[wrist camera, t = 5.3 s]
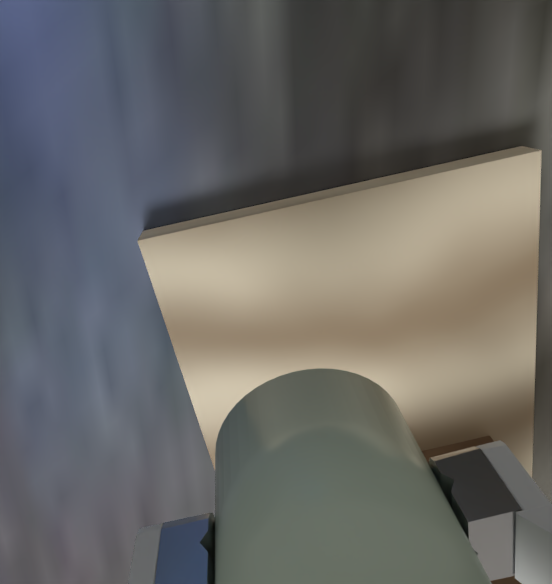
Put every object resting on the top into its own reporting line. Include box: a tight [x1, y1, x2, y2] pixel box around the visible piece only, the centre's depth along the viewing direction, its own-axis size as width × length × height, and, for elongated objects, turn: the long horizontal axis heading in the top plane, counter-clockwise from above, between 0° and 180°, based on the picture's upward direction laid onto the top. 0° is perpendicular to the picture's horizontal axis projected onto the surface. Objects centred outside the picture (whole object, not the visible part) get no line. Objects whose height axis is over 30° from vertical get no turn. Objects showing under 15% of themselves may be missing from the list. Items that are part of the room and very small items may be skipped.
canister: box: [215, 368, 492, 584], centre depth 9 cm, size 5×5×6 cm
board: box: [138, 146, 541, 477], centre depth 21 cm, size 22×14×1 cm, turn 11°
